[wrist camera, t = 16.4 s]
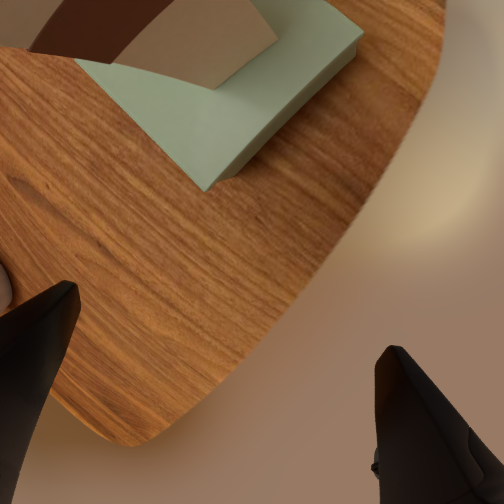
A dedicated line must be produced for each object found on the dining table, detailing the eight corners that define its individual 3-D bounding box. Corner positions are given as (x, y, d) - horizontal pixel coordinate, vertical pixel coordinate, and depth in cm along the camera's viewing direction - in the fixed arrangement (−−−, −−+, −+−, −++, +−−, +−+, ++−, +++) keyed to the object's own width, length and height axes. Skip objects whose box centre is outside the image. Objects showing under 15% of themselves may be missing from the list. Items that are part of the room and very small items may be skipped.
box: (361, 56, 15) (365, 31, 11) (234, 181, 20) (204, 193, 16) (214, -45, 15) (185, -75, 11) (116, 67, 19) (73, 60, 15)
